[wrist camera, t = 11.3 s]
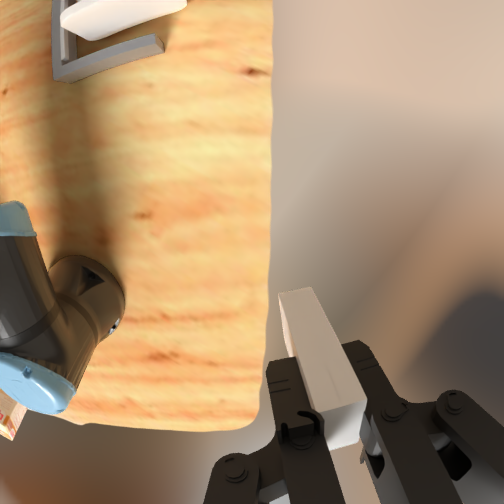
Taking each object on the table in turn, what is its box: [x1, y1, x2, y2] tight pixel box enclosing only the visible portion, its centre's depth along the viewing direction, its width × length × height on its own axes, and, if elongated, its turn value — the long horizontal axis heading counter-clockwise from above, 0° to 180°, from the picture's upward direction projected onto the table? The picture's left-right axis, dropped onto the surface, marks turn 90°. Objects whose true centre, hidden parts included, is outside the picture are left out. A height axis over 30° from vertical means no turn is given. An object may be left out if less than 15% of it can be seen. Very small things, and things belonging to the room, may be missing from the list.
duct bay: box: [51, 0, 164, 84], centre depth 25 cm, size 14×21×5 cm
